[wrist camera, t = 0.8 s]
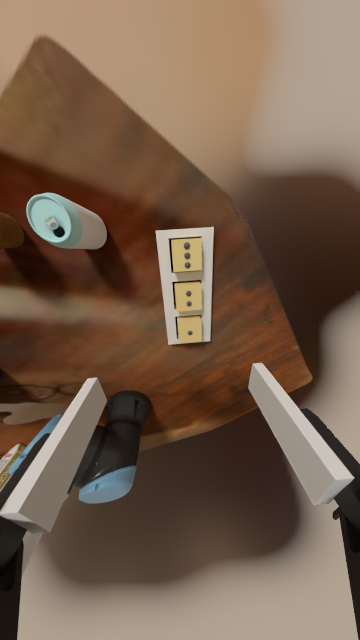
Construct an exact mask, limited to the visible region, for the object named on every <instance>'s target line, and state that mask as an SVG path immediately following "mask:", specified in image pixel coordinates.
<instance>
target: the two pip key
mask: <svg viewBox="0 0 360 640" xmlns="http://www.w3.org/2000/svg"><path fill="white" fill-rule="evenodd" d="M174 285H175V298H176V310H177V312H179V311H192V310H202V284H201V283H200V282H185V283H174Z"/></svg>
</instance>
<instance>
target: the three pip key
mask: <svg viewBox="0 0 360 640" xmlns="http://www.w3.org/2000/svg"><path fill="white" fill-rule="evenodd" d="M171 246H172V259H173V271H174V272H183V271H197V270H202V238H192V239H177V240H171Z"/></svg>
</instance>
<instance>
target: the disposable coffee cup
mask: <svg viewBox="0 0 360 640" xmlns="http://www.w3.org/2000/svg"><path fill="white" fill-rule="evenodd" d="M23 242H24V232H23V229H22V228H21V226H20V224H19V223H18V222H17V221H16V220H15V219H14V218H13V217H11V216H9V215H8V214H5V213H2V212H0V249H6V248H15V247H19V246H21V245H22V244H23Z"/></svg>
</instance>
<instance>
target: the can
mask: <svg viewBox="0 0 360 640" xmlns="http://www.w3.org/2000/svg"><path fill="white" fill-rule="evenodd" d="M27 217H28V220H29V223H30V225H31V226H32V228H33V229H34V231H35V232H36V233H37V234H38V235H39V236H40V237H42V238H43V239H45V240H46V241H48V242H49V243H51V244H52V245H55V246H57V247H60V248H74V249H98V248H100V247H102V246H103V245H104V244H105V242H106V239H107V230H106V227H105V224H104V223H103V221H102V220H101V218H100V217H99V216H98V215H96V214H95V213H93V212H91V211H89V210H87V209H85V208H83V207H81V206H79V205H78V204H76V203H74V202H72V201H70V200H68V199H66V198H64V197H62V196H60V195H57V194H54V193H43V194H40V195H35V196H33V197H32V198H31V199H30V200H29V202H28V204H27Z"/></svg>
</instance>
